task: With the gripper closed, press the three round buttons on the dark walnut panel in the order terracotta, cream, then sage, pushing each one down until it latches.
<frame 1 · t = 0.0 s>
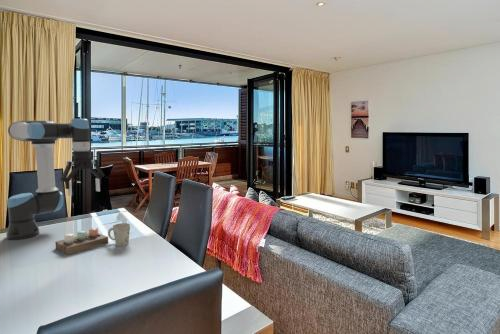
hand: (84, 193, 159), 28 cm above the table, fingers open, 13 cm apart
button cream: (69, 238, 159), point 5 cm above the table, slide at 0.0 cm
button sage: (81, 235, 164), point 5 cm above the table, slide at 0.0 cm
button terracotta: (93, 232, 169), point 5 cm above the table, slide at 0.0 cm
mug: (118, 244, 168), on the table
button panel: (82, 245, 165), on the table
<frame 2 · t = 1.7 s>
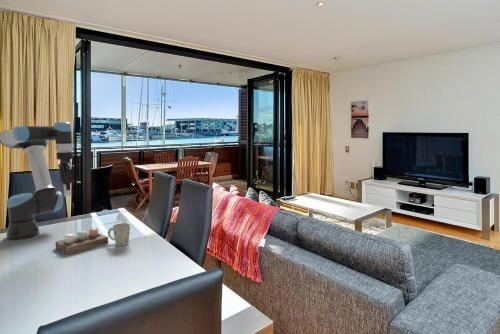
hand: (67, 195, 171), 24 cm above the table, fingers closed
nothing on the table moved.
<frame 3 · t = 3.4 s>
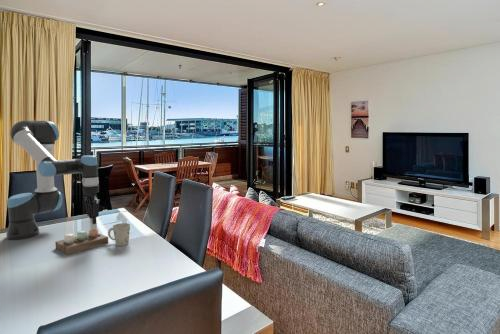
hand: (93, 229, 169), 7 cm above the table, fingers closed
button terracotta: (93, 233, 169), point 5 cm above the table, slide at 0.4 cm, touching gripper
everything else where it was.
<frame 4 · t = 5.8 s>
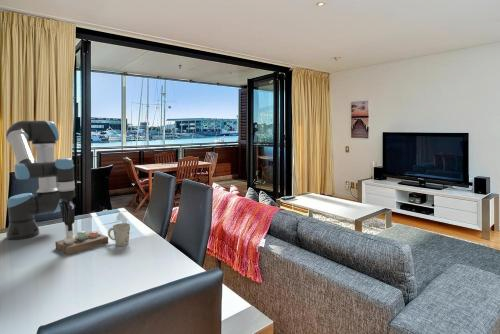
hand: (69, 236, 159), 7 cm above the table, fingers closed
button cream: (69, 240, 160), point 4 cm above the table, slide at 1.0 cm, touching gripper
button terracotta: (93, 235, 169), point 4 cm above the table, slide at 1.6 cm
everything else where it was.
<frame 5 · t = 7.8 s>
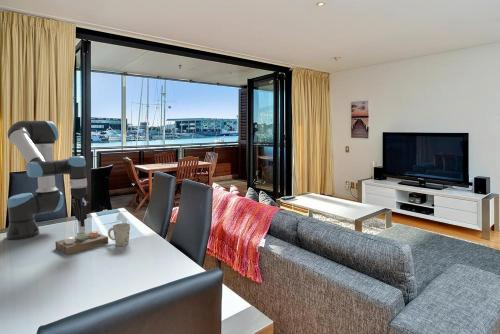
hand: (81, 232, 164), 7 cm above the table, fingers closed
button cream: (69, 242, 160), point 4 cm above the table, slide at 1.6 cm
button sage: (82, 236, 164), point 5 cm above the table, slide at 0.4 cm, touching gripper
everything else where it was.
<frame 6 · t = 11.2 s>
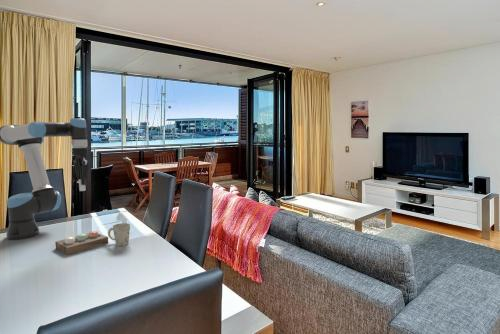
hand: (82, 190, 175), 26 cm above the table, fingers closed
button sage: (82, 238, 164), point 4 cm above the table, slide at 1.6 cm
everything else where it was.
at the end: button terracotta slide at 1.6 cm; button cream slide at 1.6 cm; button sage slide at 1.6 cm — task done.
